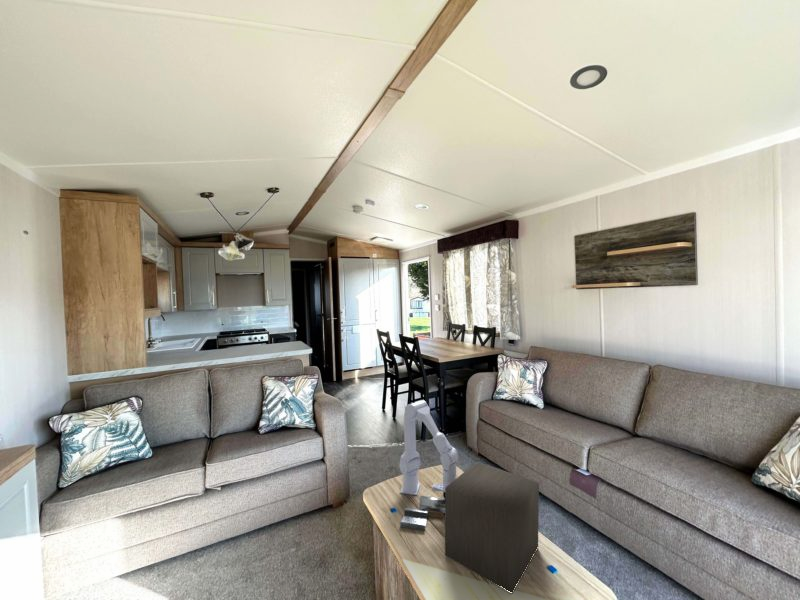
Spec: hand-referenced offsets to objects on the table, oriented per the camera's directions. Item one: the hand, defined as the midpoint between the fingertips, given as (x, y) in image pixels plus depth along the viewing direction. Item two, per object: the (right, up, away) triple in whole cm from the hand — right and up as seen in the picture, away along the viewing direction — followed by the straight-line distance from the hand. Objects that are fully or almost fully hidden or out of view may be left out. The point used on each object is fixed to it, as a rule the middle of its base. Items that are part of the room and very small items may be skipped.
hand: (449, 508), depth 147 cm
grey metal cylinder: (-7, -2, +2) cm, 7 cm away
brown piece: (-6, -2, +1) cm, 6 cm away
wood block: (+13, -3, -22) cm, 26 cm away
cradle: (-15, -2, -6) cm, 17 cm away
